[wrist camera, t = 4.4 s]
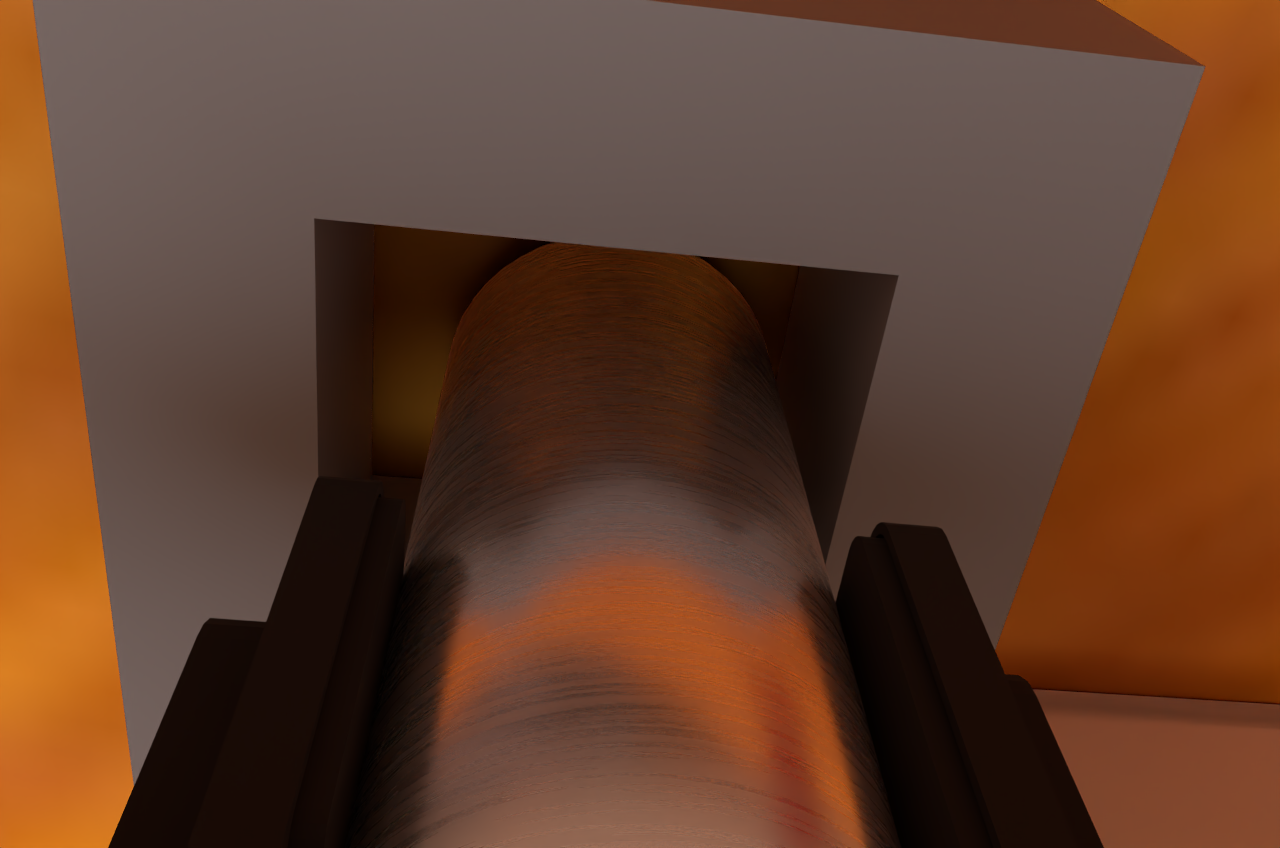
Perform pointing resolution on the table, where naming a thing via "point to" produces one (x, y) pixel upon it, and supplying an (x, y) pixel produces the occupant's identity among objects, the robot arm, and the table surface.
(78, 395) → the table surface
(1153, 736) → the tray
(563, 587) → the pin
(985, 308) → the block
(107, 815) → the table surface
